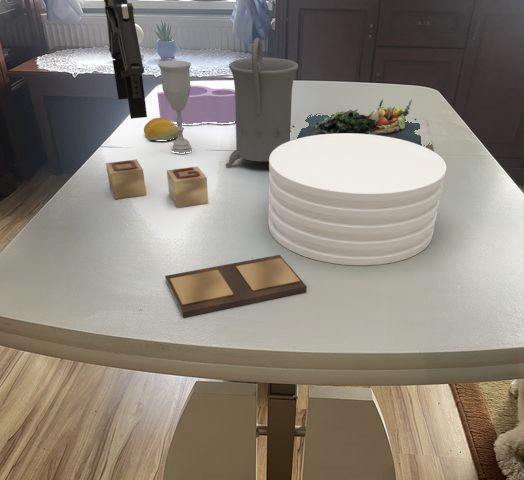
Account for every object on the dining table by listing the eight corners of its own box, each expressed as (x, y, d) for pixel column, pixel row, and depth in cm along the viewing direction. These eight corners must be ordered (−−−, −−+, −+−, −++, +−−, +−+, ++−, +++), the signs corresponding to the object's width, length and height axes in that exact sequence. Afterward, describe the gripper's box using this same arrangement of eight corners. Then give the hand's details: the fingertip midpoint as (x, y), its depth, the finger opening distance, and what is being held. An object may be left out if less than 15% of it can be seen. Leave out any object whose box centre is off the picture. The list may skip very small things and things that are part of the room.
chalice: (203, 151, 126) (198, 64, 115) (179, 158, 122) (172, 68, 111) (183, 143, 130) (176, 59, 119) (160, 150, 126) (150, 63, 115)
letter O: (115, 199, 104) (110, 172, 100) (110, 188, 108) (105, 161, 105) (146, 195, 105) (142, 168, 102) (140, 184, 110) (136, 158, 106)
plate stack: (263, 195, 105) (263, 134, 98) (407, 192, 106) (417, 131, 99) (274, 268, 83) (276, 195, 76) (455, 263, 84) (473, 191, 77)
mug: (238, 148, 127) (234, 24, 112) (301, 152, 125) (306, 26, 110) (219, 177, 113) (212, 39, 97) (290, 182, 111) (294, 42, 95)
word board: (183, 318, 73) (182, 310, 72) (165, 281, 80) (164, 274, 79) (306, 292, 78) (306, 284, 77) (279, 260, 85) (279, 253, 84)
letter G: (177, 208, 101) (174, 180, 97) (169, 196, 105) (166, 169, 102) (208, 203, 102) (206, 176, 99) (199, 191, 107) (197, 165, 103)
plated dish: (426, 118, 147) (431, 89, 143) (435, 154, 125) (442, 121, 121) (297, 114, 152) (298, 85, 147) (284, 148, 130) (284, 115, 125)
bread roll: (150, 144, 130) (148, 126, 127) (141, 133, 136) (139, 116, 134) (184, 140, 132) (182, 122, 130) (174, 129, 139) (172, 113, 136)
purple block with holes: (241, 114, 150) (241, 87, 145) (232, 128, 140) (231, 99, 136) (171, 111, 152) (168, 84, 148) (157, 124, 142) (153, 95, 138)
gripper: (152, -33, 77) (167, 124, 90) (123, -42, 96) (140, 90, 109) (97, -32, 75) (121, 128, 88) (79, -41, 93) (101, 93, 106)
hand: (131, 107), depth 98 cm, fingers open, 13 cm apart
